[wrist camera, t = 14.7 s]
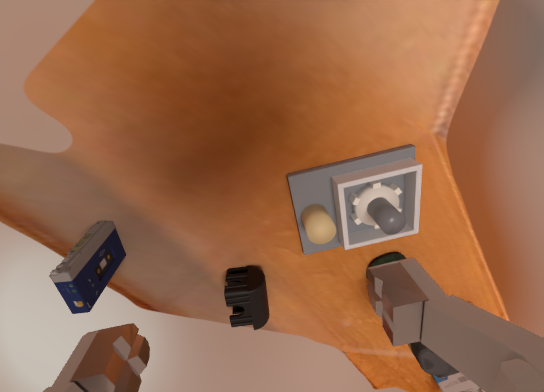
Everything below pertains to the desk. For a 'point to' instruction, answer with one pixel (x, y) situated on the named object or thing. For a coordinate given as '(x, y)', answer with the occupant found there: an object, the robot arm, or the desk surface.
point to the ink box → (456, 383)
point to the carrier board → (337, 207)
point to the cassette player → (89, 267)
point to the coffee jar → (421, 352)
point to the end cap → (247, 296)
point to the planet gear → (378, 207)
